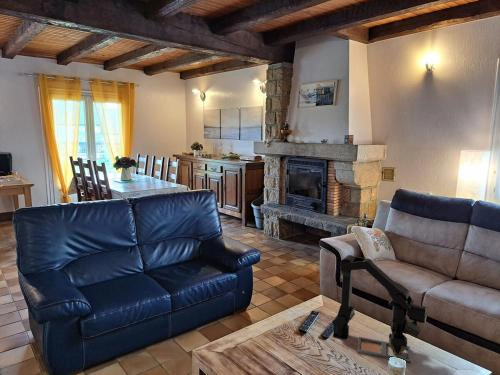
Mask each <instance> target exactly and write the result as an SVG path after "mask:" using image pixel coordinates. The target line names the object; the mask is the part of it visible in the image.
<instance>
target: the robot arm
mask: <svg viewBox="0 0 500 375" xmlns="http://www.w3.org/2000/svg"><path fill="white" fill-rule="evenodd" d="M339 267H340V273H341V276H342V282H341V283H342V286H341V298H340V299H341V301H340V306H339V309H338V311H337V314H336V315H335V317H334V319H333V320H332V321H331V322H332V325H333V334H332V337H333V338H338V339H343V340H348V337H349V334H350V326H349V322H350V321H351V320H352V319H353V318H354V317H355V315H356V314H355V310H356V306H353V305H352V290H353V278H354V277H353V275H354V273H355V271H358V270H365V271H366V272H367V273H368V274H369V275H370V276H372V277H373V278H374V279H375V280H376V281H377V282H378V283H379V284H380V285H381V286H382V287H383V288H385V290H386V291H387V293H388V295H389V297H390V298H391V300H389V301H388V303H387V305H388V306H391V307H392V312H391V313H392V314H391V318H390V323H389V324H390V331H391V334H392V333H393V334H392V335H391V344H393V347H394V349H395V352H396V353H397V354H399V352H400V349H401V347H402V346H403V347H407V346H408V338H407V336H406V335H407V334H409V335H411V336H413V337H414V338H418V337H419V335H420V333H421V331H422V330H421V326H419V325H420V323H421V324H424V325H426V322H427V317H428V312H427V307H426V306H423V305H417V304H414V303H415V302H414V300H413V298H412V297H411V295H410V291H409V289H408V288H407V287H406V286H404V285H402V283H401V284H400V283H399V282H396V281H395V280H393V279H392V278H390V276H389V275H387V274H386V273H385V272H384V271H383V269H381V268H379V266H377V264H376V263H375V262H373V261H372V259H370V258H366V257H365V258H364V257H360V256H353V255H351V254H348V255H346V256H344V258H342V260H341V261H340V262H339ZM408 319H409V320H408ZM418 323H419V324H418ZM394 333H397V334H394ZM400 334H401V335H400ZM404 335H405V336H404Z"/></svg>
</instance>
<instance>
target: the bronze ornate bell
mask: <svg viewBox="0 0 500 375" xmlns="http://www.w3.org/2000/svg"><path fill="white" fill-rule="evenodd" d="M392 334H393V333H392V332H391V333H389V334H388V342H389V344H390V346H389V347H390V349H391V350H392V354H393V355H396V356H400V355H401V356H402V353H403V352H404V351H405V350H406V349H405V347H403V346H402V347H401V349H400V352H399V354H397V353H396V352H395V349H394V347H393V344H391V335H392ZM394 334H397V333H394ZM400 335H401V334H400ZM403 335H404V336H405V337H406V334H403Z"/></svg>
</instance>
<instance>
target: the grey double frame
mask: <svg viewBox="0 0 500 375" xmlns="http://www.w3.org/2000/svg"><path fill="white" fill-rule="evenodd" d="M357 341H358V342H357V347H356V353H357V354H362V355H367V356H372V357H376V358H381V359H386V360H390V359H389V358H390V357H395V356H393V355H389V354H387V347H390V344H389V341H383V340H378V339H373V338H367V337H363V336H358V340H357ZM405 350H406V351H407V357H408V358H403V357H398V356H396V357H397V358H401V359H403V360H405V361H406V363H405V364H412V355H411V347H410V346H408V345H407V347H405Z"/></svg>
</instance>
